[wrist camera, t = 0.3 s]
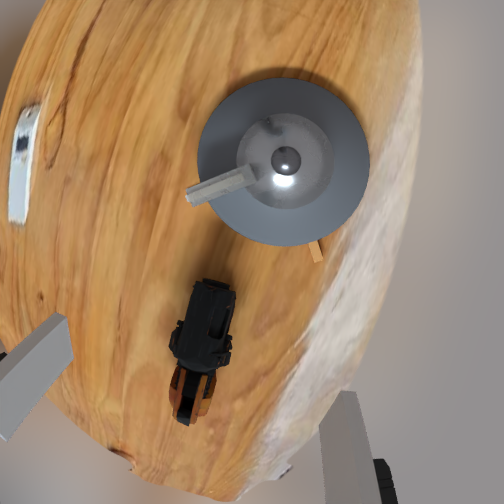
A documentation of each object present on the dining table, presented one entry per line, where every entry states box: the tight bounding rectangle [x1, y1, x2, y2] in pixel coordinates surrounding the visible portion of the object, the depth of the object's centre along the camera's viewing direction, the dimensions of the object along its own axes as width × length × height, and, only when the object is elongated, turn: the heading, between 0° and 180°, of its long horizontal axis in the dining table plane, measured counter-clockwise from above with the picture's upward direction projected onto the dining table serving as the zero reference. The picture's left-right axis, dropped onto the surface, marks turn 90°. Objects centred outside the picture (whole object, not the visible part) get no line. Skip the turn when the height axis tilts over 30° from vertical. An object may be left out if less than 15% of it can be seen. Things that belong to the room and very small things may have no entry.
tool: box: [169, 278, 236, 426], centre depth 38 cm, size 8×23×15 cm, turn 165°
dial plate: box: [186, 78, 370, 263], centre depth 32 cm, size 22×22×2 cm
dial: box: [186, 113, 334, 209], centre depth 29 cm, size 16×10×4 cm, turn 111°
